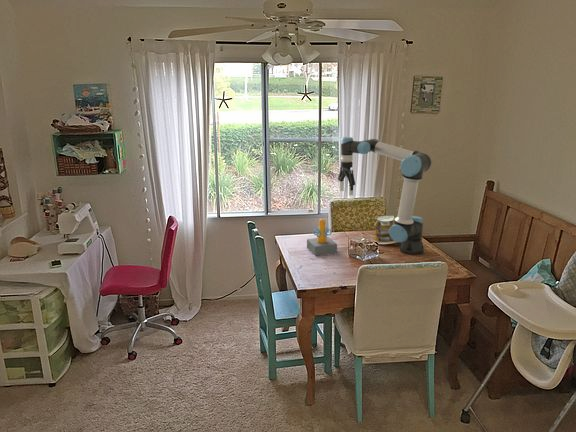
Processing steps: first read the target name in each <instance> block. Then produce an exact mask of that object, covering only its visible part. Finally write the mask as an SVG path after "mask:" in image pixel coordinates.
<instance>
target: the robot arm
mask: <svg viewBox="0 0 576 432" xmlns="http://www.w3.org/2000/svg"><path fill="white" fill-rule="evenodd" d="M340 149H341V150H340V151H341V152H340V169H339V173H338V178H337V180H338V182H339V192H344V191H345V179H346V178H347V181H348V184H349V185H348V196H354V186H356V181H355V176H354V170H353V169H351V168H353V161H354V158H353V156H354V155H353V154H360V155H367V154H369V152H372V153H375V154H378V155H381V156H383V157H385V156H386V157H388V158H392V159H393V160H394V159H395V160H397V161H401V162H400V171H401V173H402V174H401V176H402V178H403V183H402V189H401V194H400V199H399V200H400V201H399V204H398V205H399V206H398V212H397V216H396V217H394V224H393V225H392V226H391V227H390V229H389V234H390V237H391V238H392V239H393V240H394V241H395V242H397V243H400V245H399V252H401V253H402V254H404V255H410V256H417V255H418V256H419V255H422V254H424V252H425V248H424V244H423V241H422V240H423V227H424V219H423V217H421V216H417V215H413V213H414V209H415V205H416V200H417V199H416V198H417V194H418V187H419V183H420V181H422V180H423V176H424V173H426V172H428V171H429V170H430V169H431V167H432V163H433V161H432V158H431V156H430V155H429V154H428V153H427V152H422V151H419V150H414V151H413V150H410V149H409V150H408V149H406V148H402V147H400V146H397V145H392V144H389V143H386V142H382V141H380V140H379V139H377V138H370V139H366V140H360V141H356V140H354V138H353V137H351V136H343V137H341V142H340Z"/></svg>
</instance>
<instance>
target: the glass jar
mask: <svg viewBox="0 0 576 432" xmlns="http://www.w3.org/2000/svg"><path fill="white" fill-rule="evenodd" d="M394 216H395V215H382V216H377V217H376V218H377V219H376V221H375V223H374V230H375V233H374V236H372V237H374V239H375V240H376V241H377V243H378V244H377V245H388V244H389V245H390V244H396V243H398V242H395V241H394V240H393V239H392V238H391V237H390V234H389V229H390V227H391V226H392V225H393V224H394V219H395V217H394Z"/></svg>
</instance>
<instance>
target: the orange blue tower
mask: <svg viewBox="0 0 576 432" xmlns="http://www.w3.org/2000/svg"><path fill="white" fill-rule="evenodd" d="M318 221H319V222H318V227H316V228H314V229H312V234H313V235H314V236H316V238H317V242H319V243H326V242H327V237H328V236H331V235H332V232H333V231H332V230H331V229H330V228H328V227H327V226H326V218H319V219H318ZM315 231H316V233H315ZM328 231H330V232H329V233H328Z"/></svg>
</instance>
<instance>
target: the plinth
mask: <svg viewBox="0 0 576 432" xmlns="http://www.w3.org/2000/svg"><path fill="white" fill-rule="evenodd" d="M306 248H307V250H308V251H310V253H312V255H314V256H322V255H330V254H331V255H332V254H337V253H338V243H337V242H335V241H334V240H333V239H332V238H331V237H329V236H327V242H326V243H319V242H317V237H315V238H307V239H306Z"/></svg>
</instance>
